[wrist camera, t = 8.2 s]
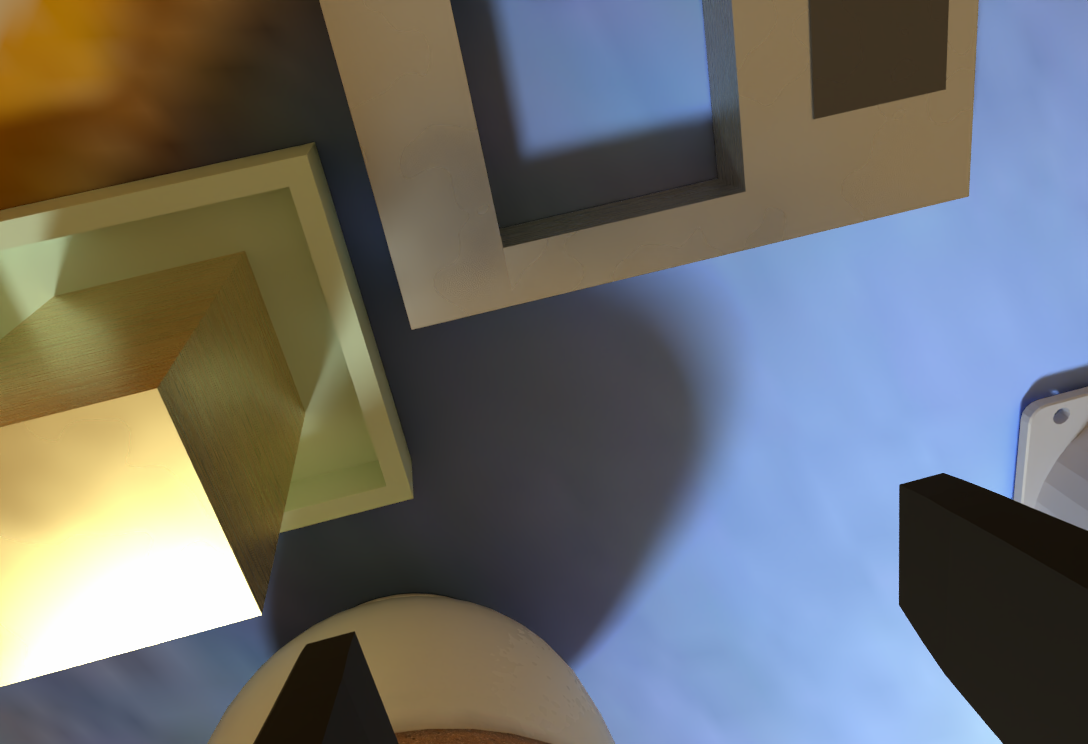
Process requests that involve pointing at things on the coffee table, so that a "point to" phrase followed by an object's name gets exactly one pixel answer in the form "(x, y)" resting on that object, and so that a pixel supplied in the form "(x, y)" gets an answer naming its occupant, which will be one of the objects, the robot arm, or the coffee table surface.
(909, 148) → the grey rectangular frame
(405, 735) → the lidded jar
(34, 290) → the parts tray
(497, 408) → the coffee table surface
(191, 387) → the upright wooden block
